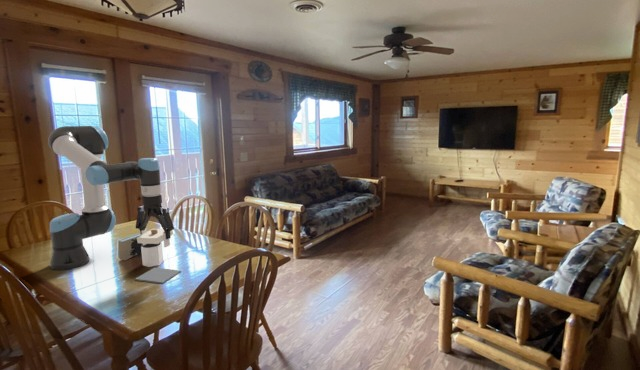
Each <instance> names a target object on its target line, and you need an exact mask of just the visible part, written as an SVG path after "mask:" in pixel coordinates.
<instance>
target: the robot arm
mask: <svg viewBox="0 0 640 370" xmlns="http://www.w3.org/2000/svg"><path fill="white" fill-rule="evenodd" d="M47 139H48V141H47V143H48V146H49V148H50V150H51V151H52V152H53V153H55V154H56V155H57V156H61V157H64V158H66V159H67V160H68V161H69V162H71V163H73V165H75V166H76V167H77V168H79V169H80V175H81V184H82V191H83V202H84V207H83V208H82V209H81V214H79V213H78V212H71V213H66V214H62V215H58V216H56V217H53V218H52V219H51V220H50V222H49V233H50V239H51V246H52V255H51V258H50V262H49V266H50V269H51V270H54V271H55V270H56V271H64V270H70V269H74V268H79V267H81V266H84V265H86V264H87V263H89V261H90V255H89V253H88V252H87V250H86V248H85V246H84V244H83V243H84V242H83V240H85V239H89V238H93V237H96V236H99V235H101V236H102V235H105V234H107V233H111V232H112V231H113V230H114V229H115V226H116V220H117V219H116V215H115V213H114V210H113V209H110V207H109V206H108V205H106V199H105V189H104V188H105V187H104V185H107V184H112V183H114V184H115V183H118V182H125V181H126V182H127V181H132V180H137V181H139V182H140V191H141V195H142V197H141V201H142V205H141V206H137V209H136V210H137V215H136V222H135V229H138V230H139V233H140V236H141V235H142V234H144V233H146V232H148V231H149V230H148V228H147V225H148V223H149V221H150V219H151V217H153V218H155V219H156V220H157V221H158V223H159V224H160V226H161V229H163V230H164V231H165V232H163V239H164V240H163V247H164V248H167V247H169V246H170V245H171V242H170V239H171V236H172V235H171V236H170V231H171V230H173V231H174V230H175V226H174V223H173V221H172V218H171V215H170V211H169V210H170V208H169V206H167V207H163V206H162V203H163V198H162V197H163V196H162V188H161V187H162V186H161V174H160V173H161V172H160V171H161V170H160V164H159V159H158V158H156V157H143V158H139V159H138V161H134V160H132V161H126V162H121V163H109V164H108V163H107V162H105V161H104V160H102V156H103V155H104V154H105V152H104V151H106V150H107V149H108V148H109V138H108V135H107V134H106V131H104V129H103V128H102V127H99V126H97V125H96V126H95V125H77V126H73V125H72V126H71V125H70V126H68V125H66V126H64V125H63V126H60V127H58V128H55V129H54V130H53V131H52V132H51V133H50V134H49V136H48V138H47ZM143 245H146V244H145V243H143Z"/></svg>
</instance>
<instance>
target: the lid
mask: <svg viewBox="0 0 640 370" xmlns="http://www.w3.org/2000/svg"><path fill="white" fill-rule="evenodd" d="M163 232H165V231H164V230H163V228H151V229H150V230H148V232H146V233H144V234H142V235H141V234H140V235H139V236H137V237H136V241H137V244H142V243H145V244H159V243H160V242H161V243H162V242H164V239H163ZM173 235H174V229H173V230H171V231H170V236H173Z"/></svg>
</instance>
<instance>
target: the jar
mask: <svg viewBox="0 0 640 370" xmlns="http://www.w3.org/2000/svg"><path fill="white" fill-rule="evenodd" d="M162 244H163V243H162V242H160V243H159V244H146V245H143V243H141V246H140V250H141V252H140V253H141V261H142V266H143V267H147V268H152V267H156V266H160V265H161V264H162V263H163V262H164V255H163V254H164V253H163V245H162Z"/></svg>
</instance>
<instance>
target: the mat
mask: <svg viewBox="0 0 640 370" xmlns="http://www.w3.org/2000/svg"><path fill="white" fill-rule="evenodd" d="M180 273H182V270H178V269H171V268H170V269H169V268H162V267H153V268H151V269H150V270H148V271H145V272H144V273H142V274H141V275H139V276H137V277H135V278H134V280H135V281H140V282H147V283H156V284H162V285H163V284H165V283H166V282H168V281H170V280H171V279H173V278H174V277H176V276H177V275H179V274H180Z"/></svg>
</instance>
